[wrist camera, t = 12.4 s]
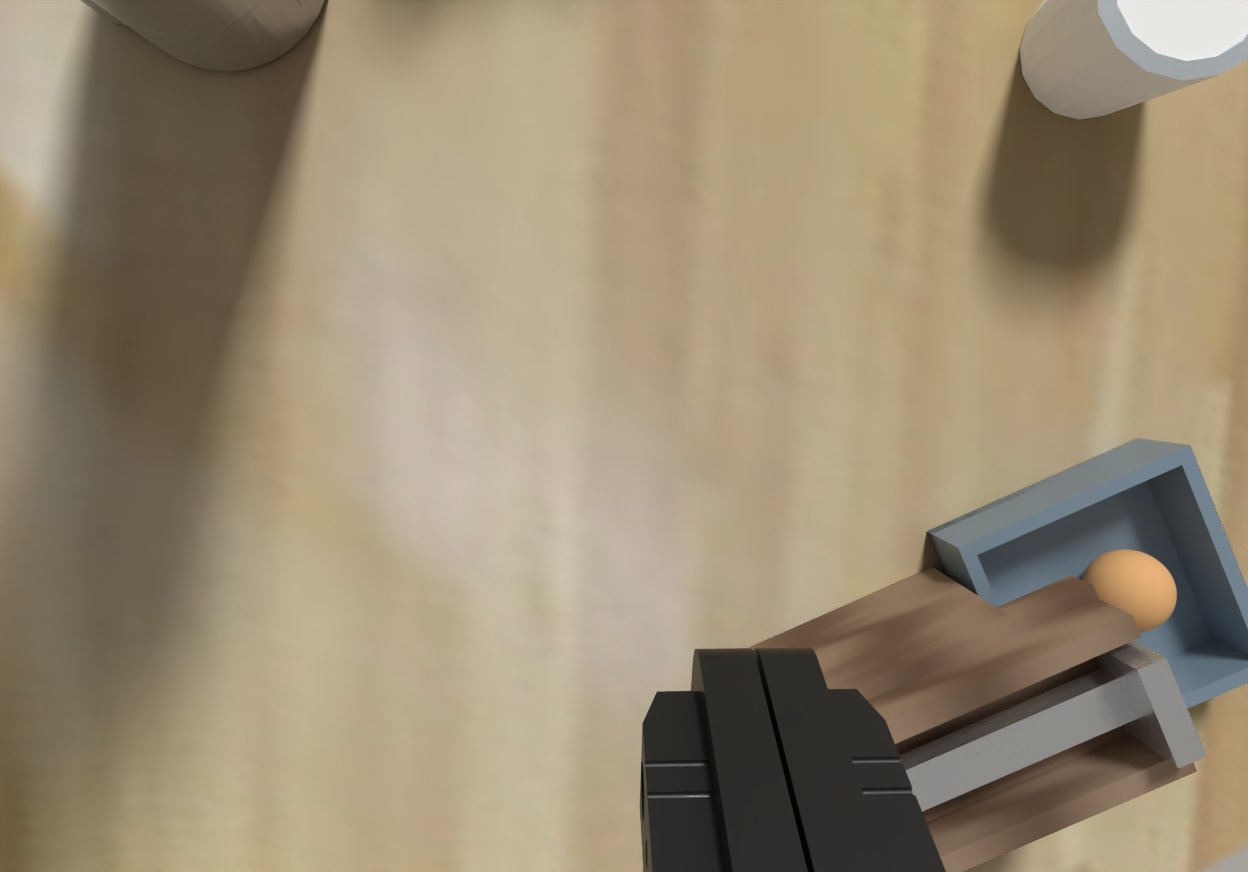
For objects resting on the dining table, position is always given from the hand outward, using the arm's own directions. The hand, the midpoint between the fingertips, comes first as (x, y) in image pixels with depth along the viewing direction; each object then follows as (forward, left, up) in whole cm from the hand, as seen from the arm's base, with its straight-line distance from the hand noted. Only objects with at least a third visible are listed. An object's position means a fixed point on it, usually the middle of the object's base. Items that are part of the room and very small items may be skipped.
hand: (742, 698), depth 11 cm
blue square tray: (+19, -4, -27) cm, 33 cm away
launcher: (+12, -8, -27) cm, 30 cm away
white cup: (+16, +20, -27) cm, 37 cm away
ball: (+20, -3, -24) cm, 32 cm away
